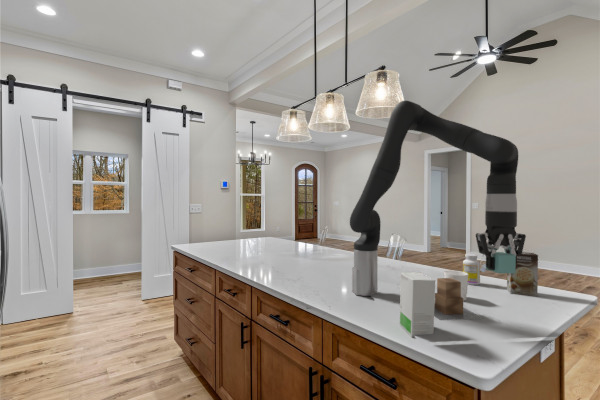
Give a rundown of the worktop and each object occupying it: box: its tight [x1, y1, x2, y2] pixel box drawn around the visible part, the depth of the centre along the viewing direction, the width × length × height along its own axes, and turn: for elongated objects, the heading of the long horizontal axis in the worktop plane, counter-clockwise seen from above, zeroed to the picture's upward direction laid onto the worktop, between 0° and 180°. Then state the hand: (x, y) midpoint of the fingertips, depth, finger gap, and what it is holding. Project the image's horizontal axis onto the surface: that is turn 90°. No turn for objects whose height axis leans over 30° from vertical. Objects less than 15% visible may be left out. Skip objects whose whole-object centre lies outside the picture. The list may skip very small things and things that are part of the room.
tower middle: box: [436, 277, 461, 298], centre depth 98 cm, size 5×5×5 cm
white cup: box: [444, 270, 469, 301], centre depth 112 cm, size 8×8×10 cm
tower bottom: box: [434, 292, 464, 315], centre depth 98 cm, size 6×6×5 cm
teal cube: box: [485, 251, 516, 274], centre depth 86 cm, size 5×5×5 cm
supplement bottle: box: [462, 253, 481, 286], centre depth 135 cm, size 7×7×13 cm
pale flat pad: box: [434, 303, 485, 321], centre depth 98 cm, size 14×14×1 cm
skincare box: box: [398, 271, 436, 338], centre depth 84 cm, size 8×7×16 cm
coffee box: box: [506, 251, 539, 297], centre depth 121 cm, size 9×6×16 cm
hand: (500, 269), depth 86 cm, fingers closed on teal cube, 5 cm apart
